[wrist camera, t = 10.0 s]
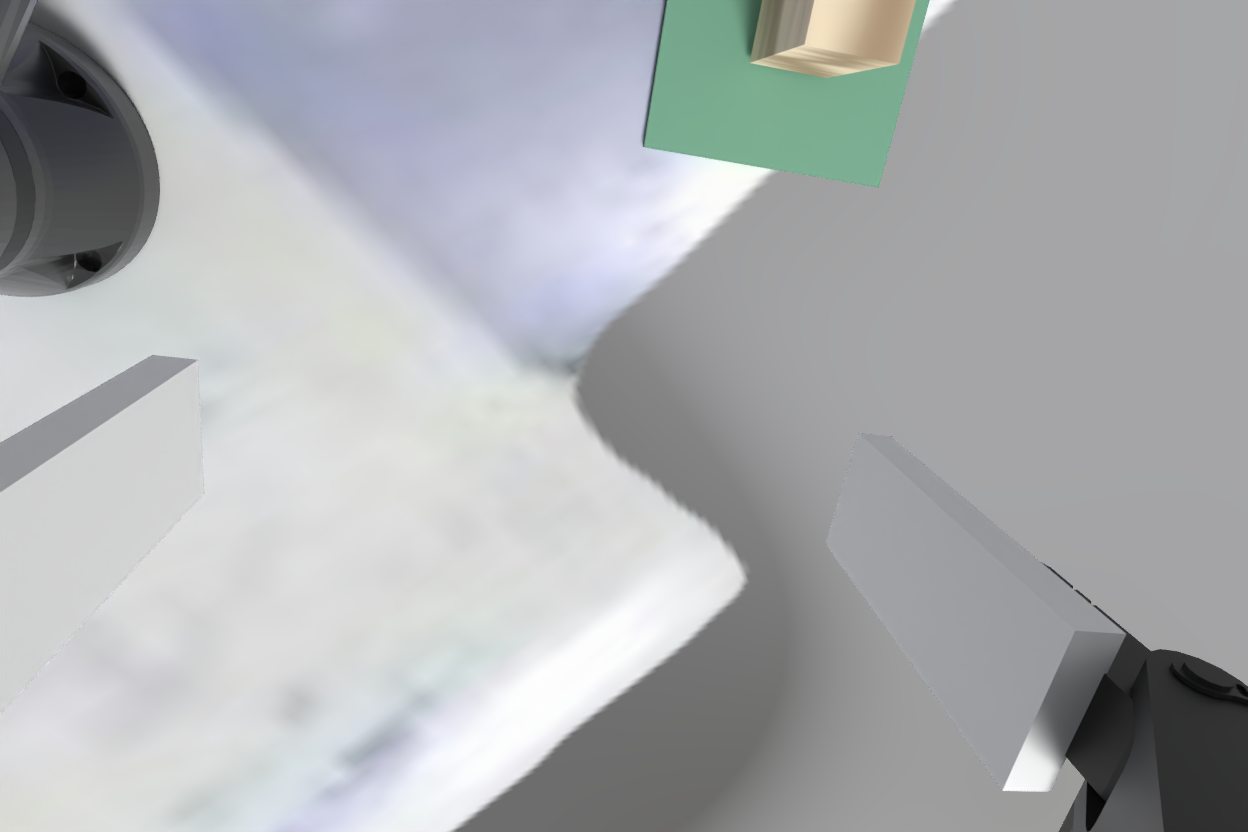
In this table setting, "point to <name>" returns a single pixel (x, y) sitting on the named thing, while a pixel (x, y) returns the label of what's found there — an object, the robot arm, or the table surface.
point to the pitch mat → (769, 99)
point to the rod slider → (831, 35)
